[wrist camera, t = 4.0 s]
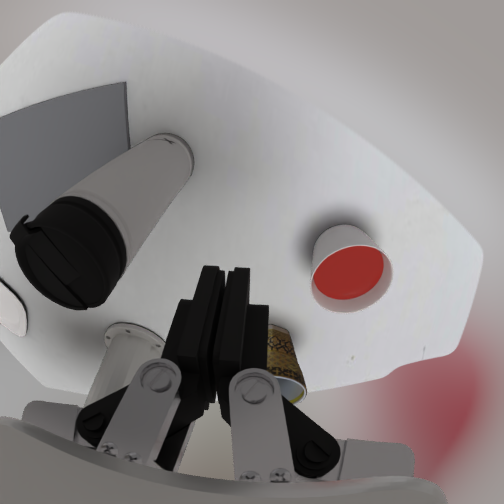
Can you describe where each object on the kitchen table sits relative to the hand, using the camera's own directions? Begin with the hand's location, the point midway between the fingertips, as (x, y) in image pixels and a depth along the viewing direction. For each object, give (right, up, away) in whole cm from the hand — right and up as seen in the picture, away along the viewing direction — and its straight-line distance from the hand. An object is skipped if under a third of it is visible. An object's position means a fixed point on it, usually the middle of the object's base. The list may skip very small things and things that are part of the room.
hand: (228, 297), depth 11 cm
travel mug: (-8, +11, +18) cm, 23 cm away
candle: (+12, +2, +23) cm, 26 cm away
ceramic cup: (+4, -13, +33) cm, 35 cm away
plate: (-55, -9, +34) cm, 65 cm away
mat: (-25, +12, +18) cm, 33 cm away
